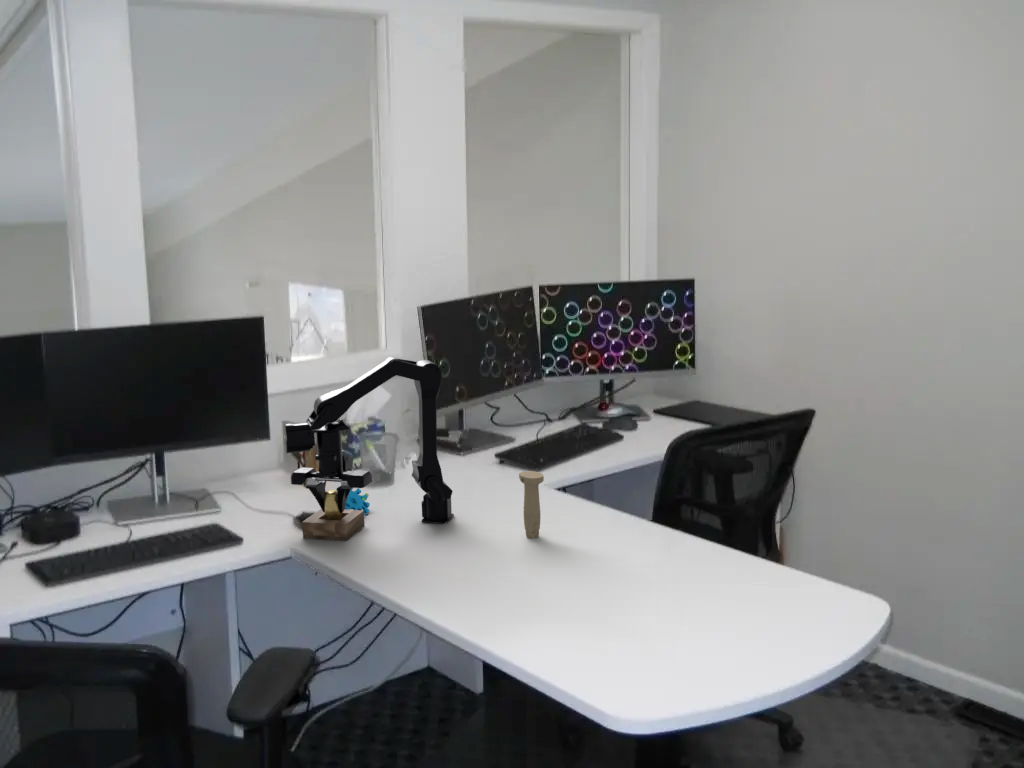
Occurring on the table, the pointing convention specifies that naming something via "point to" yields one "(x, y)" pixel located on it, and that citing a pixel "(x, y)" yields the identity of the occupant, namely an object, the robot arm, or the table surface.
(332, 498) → the pin
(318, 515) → the socket block
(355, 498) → the gear
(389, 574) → the table surface
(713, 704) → the table surface
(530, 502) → the handle
